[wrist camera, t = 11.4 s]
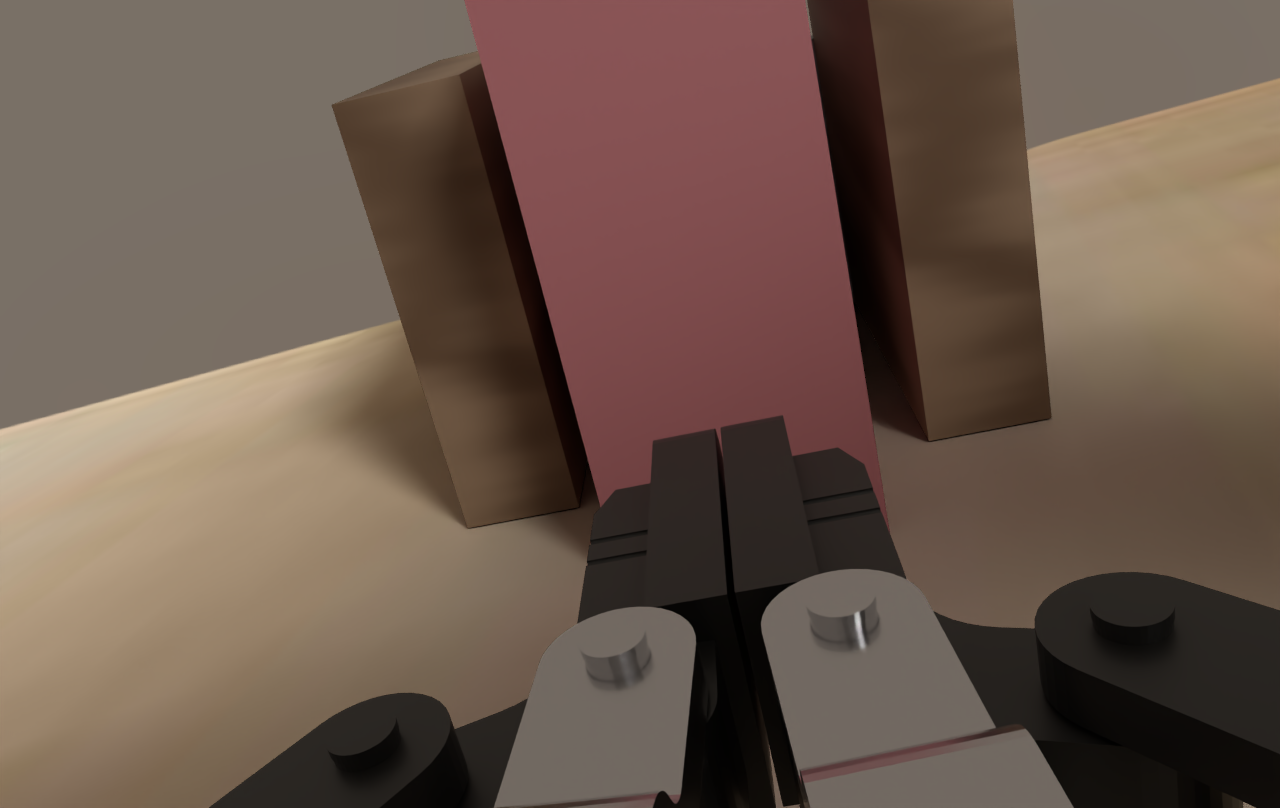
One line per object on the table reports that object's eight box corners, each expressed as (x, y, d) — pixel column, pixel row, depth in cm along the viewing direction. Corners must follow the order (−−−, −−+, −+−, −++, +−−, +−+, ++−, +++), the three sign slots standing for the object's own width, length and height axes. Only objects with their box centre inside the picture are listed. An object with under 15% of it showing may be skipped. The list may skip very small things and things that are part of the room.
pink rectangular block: (807, 314, 38) (738, -78, 34) (890, 536, 24) (787, -110, 19) (641, 348, 39) (551, -32, 34) (621, 584, 24) (456, -28, 20)
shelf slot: (933, 274, 39) (891, -49, 35) (1051, 418, 27) (1007, -56, 23) (530, 357, 41) (446, 57, 37) (467, 528, 28) (331, 104, 24)
